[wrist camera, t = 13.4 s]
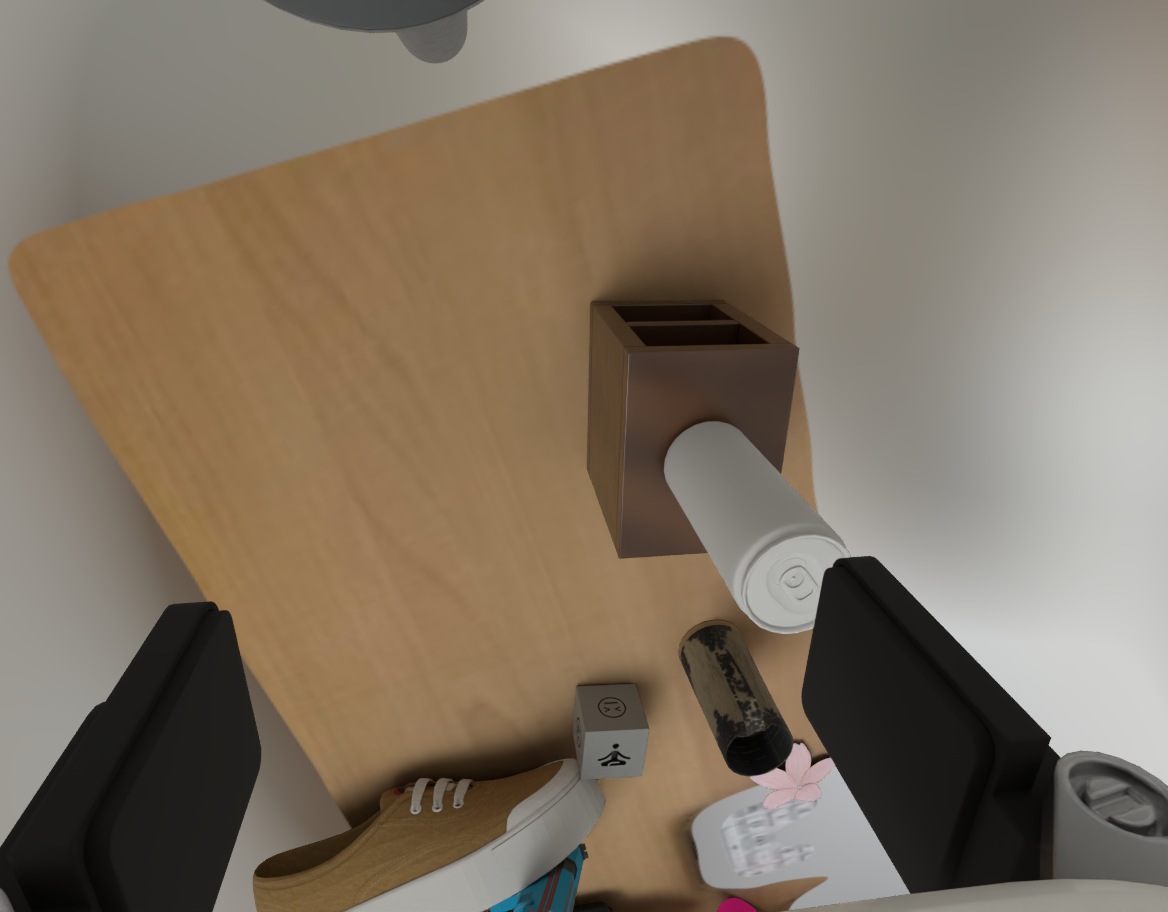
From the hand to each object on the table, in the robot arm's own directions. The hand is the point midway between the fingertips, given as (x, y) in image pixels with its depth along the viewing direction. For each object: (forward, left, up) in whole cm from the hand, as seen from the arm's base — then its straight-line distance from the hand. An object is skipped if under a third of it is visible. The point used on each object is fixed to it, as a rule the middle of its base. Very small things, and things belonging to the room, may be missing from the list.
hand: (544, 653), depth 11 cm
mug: (+30, +17, -36) cm, 50 cm away
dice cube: (+36, +8, -36) cm, 52 cm away
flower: (+47, +27, -34) cm, 64 cm away
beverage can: (+8, +11, -24) cm, 28 cm away
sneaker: (+49, -5, -29) cm, 57 cm away
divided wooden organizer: (+8, +11, -36) cm, 39 cm away
